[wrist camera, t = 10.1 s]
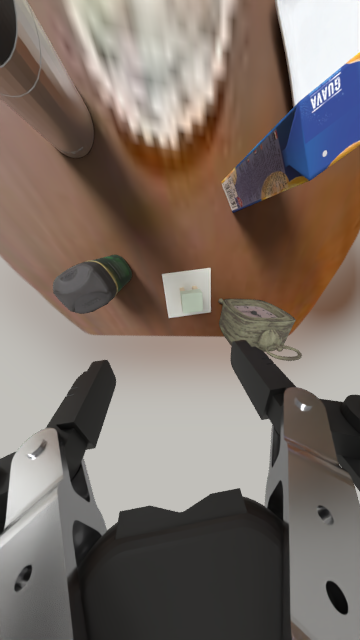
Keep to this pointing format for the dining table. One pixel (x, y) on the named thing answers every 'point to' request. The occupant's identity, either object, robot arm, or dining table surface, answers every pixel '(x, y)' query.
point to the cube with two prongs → (191, 300)
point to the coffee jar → (92, 283)
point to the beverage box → (301, 141)
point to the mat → (186, 280)
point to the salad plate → (317, 40)
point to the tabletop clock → (257, 325)
